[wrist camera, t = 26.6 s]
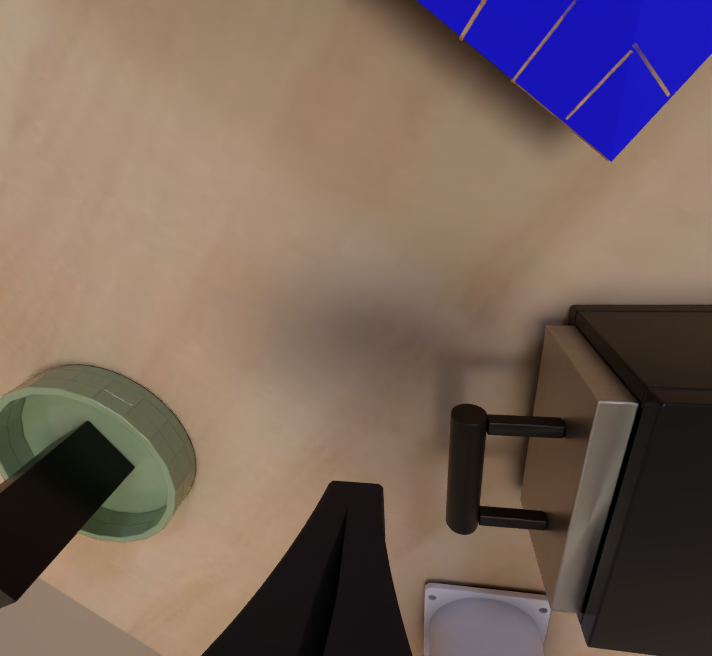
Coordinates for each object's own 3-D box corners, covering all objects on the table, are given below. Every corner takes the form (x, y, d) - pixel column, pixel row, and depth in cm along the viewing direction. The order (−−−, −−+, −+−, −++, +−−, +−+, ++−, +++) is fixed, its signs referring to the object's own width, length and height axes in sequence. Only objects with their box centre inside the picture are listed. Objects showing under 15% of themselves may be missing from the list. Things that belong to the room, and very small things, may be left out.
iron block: (136, 467, 26) (15, 602, 18) (97, 487, 27) (-30, 621, 20) (88, 419, 25) (-62, 543, 17) (50, 443, 26) (-104, 567, 18)
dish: (213, 517, 28) (194, 550, 25) (62, 503, 30) (33, 533, 27) (170, 367, 23) (142, 391, 21) (-8, 362, 25) (-51, 384, 22)
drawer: (441, 493, 22) (446, 598, 17) (447, 324, 18) (457, 396, 13) (786, 518, 20) (916, 653, 15) (888, 327, 15) (1124, 420, 10)
